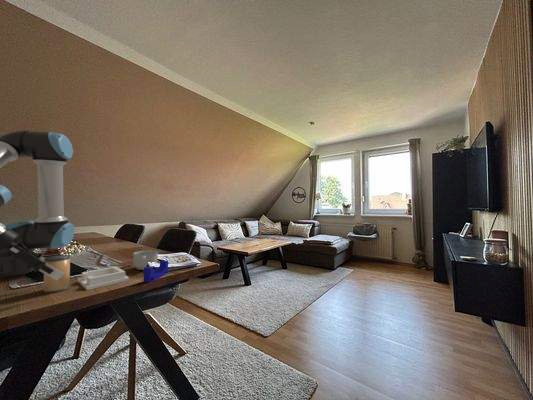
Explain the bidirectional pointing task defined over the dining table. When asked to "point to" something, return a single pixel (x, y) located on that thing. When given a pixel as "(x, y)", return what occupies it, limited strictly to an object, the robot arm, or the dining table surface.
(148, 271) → the cable clip
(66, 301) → the dining table surface
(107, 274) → the holder
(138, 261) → the teacup
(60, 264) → the tan cylindrical piece
